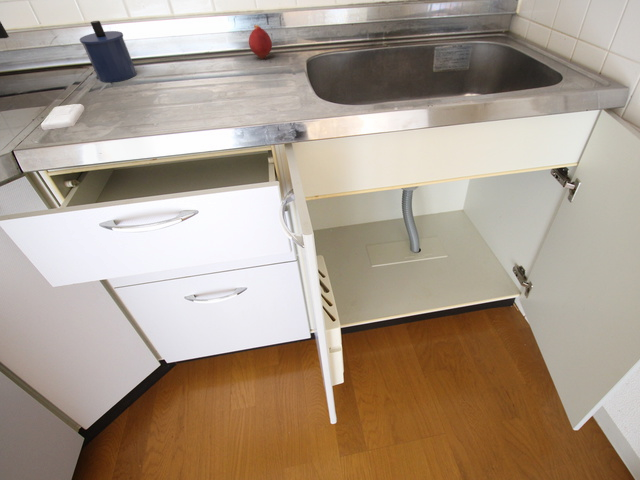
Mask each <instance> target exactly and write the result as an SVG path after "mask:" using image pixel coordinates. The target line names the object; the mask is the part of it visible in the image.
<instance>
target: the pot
mask: <svg viewBox="0 0 640 480" xmlns="http://www.w3.org/2000/svg"><path fill="white" fill-rule="evenodd" d="M81 44H82V47H83V49H84V50H85V53H86V55H87V57H88V59H89V61H90V63H91V66H92V68H93V70H94V72H95V74H96V77H97V78H98V80H99V82H102V83H118V82H123V81H127V80H130V79H132V78H134V77H135V76H137V70H136V67H135V64H134V62H133V59H132V57H131V55H130V52H129V50H128V47H127V44H126V42H125V39H124V36H123V37H122V38H120V39H118V40H115V41H111V42H106V43H100V44H83V43H81Z"/></svg>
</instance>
